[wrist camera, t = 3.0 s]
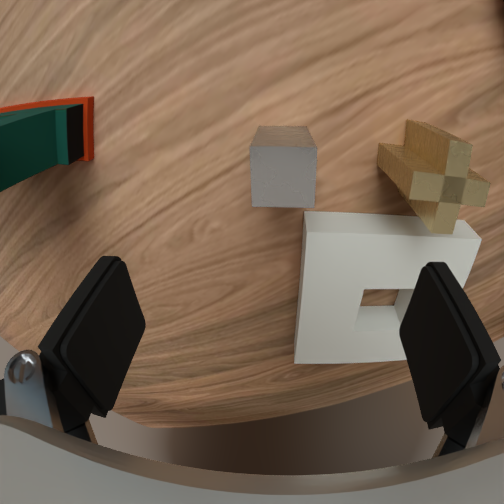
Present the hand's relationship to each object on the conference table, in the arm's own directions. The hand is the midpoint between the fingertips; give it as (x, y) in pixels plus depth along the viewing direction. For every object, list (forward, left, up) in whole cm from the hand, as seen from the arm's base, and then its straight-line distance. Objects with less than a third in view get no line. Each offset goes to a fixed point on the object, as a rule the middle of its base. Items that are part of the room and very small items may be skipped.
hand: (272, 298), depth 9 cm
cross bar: (-12, 0, -19) cm, 22 cm away
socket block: (-11, +15, -19) cm, 27 cm away
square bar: (0, 0, -19) cm, 19 cm away
